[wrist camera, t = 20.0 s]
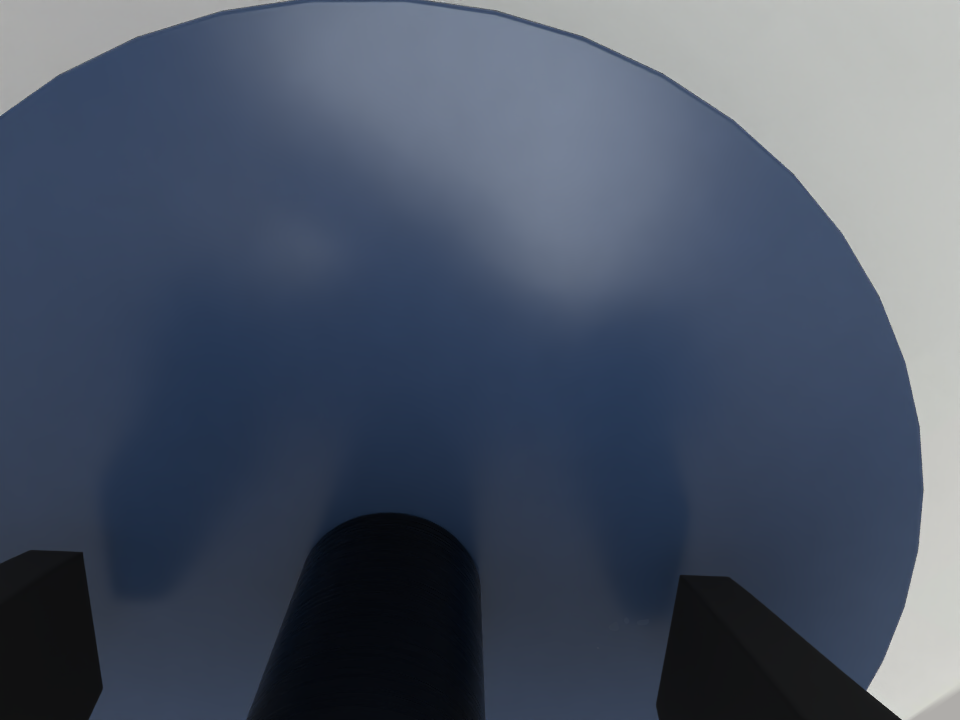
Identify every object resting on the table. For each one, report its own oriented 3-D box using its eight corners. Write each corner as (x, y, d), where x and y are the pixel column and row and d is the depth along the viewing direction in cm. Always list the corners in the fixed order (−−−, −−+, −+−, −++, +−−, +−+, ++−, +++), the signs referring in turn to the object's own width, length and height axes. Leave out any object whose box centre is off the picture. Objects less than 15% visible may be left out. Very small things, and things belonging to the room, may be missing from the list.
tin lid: (-9, 866, 12) (-276, 1284, 8) (-226, -32, 7) (-1192, -261, 3) (769, 881, 13) (930, 1278, 8) (1005, 56, 8) (1642, -33, 4)
